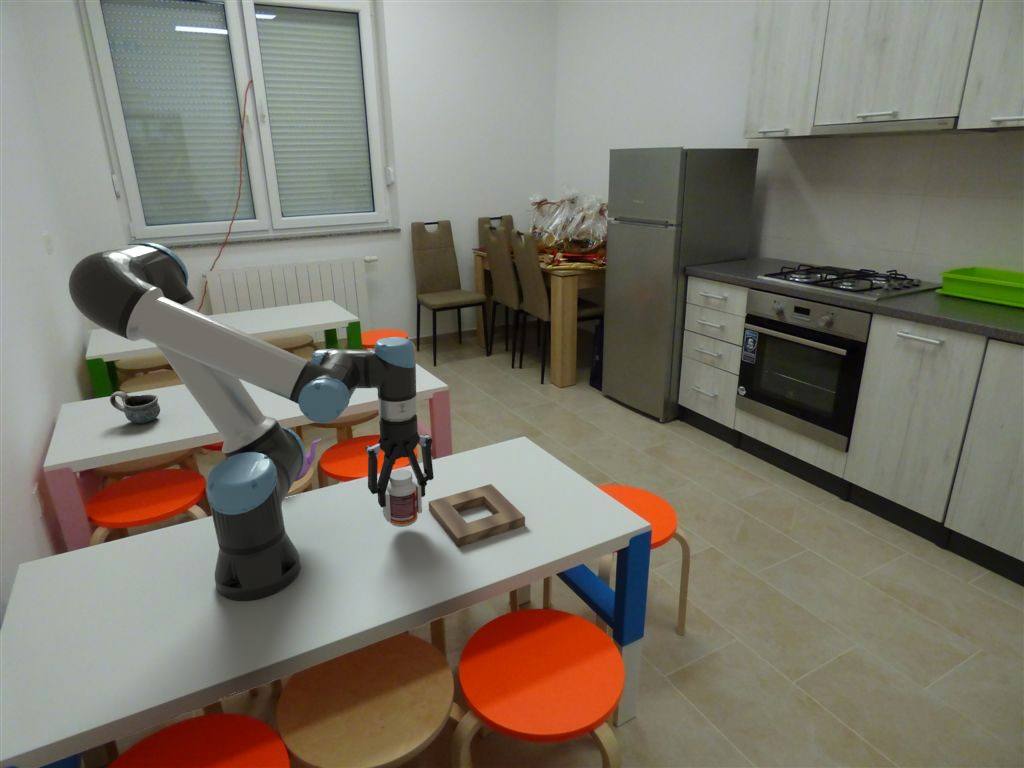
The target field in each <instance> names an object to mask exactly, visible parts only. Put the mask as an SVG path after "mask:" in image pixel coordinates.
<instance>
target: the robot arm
mask: <svg viewBox="0 0 1024 768" xmlns="http://www.w3.org/2000/svg"><path fill="white" fill-rule="evenodd" d="M68 280H69V281H68V290H69V296H70V297H71V300H72V303H74V306H75V307H76V308H77V309H78V311H79V312H80V313H81V314H82V315H83V316H84V317H86V319H88V320H89V321H90V322H92V323H94V324H96V325H97V326H99V327H100V328H103V329H104V330H106V331H108V332H110V333H112V334H114V335H117V336H120V337H122V338H125V339H126V340H129V341H131V342H136V341H140V340H145V341H148V342H151V343H152V344H155V345H156V347H157V348H158V350H159V351H160V353H161V354H162V355H163V357H164V358H165V359H166V360H167V362H168V364H169V365H170V366H171V368H172V369H173V371H174V372H175V374H176V375H177V376H178V378H179V379H180V380H181V382H182V383H183V384H184V386H185V388H187V391H189V394H191V395H192V397H193V398H194V400H195V401H196V403H197V404H198V405H199V407H200V408H201V410H202V411H203V412H204V414H205V415H206V416H207V418H208V419H209V421H210V422H211V423H212V425H213V426H214V428H215V429H216V431H217V432H218V433H219V435H220V437H222V439H223V445H222V448H221V452H222V453H223V454H224V456H225V457H226V458H227V459H223V460H220V461H219V462H217V464H216V465H214V466H213V468H211V470H210V471H209V473H208V474H207V478H206V489H207V490H206V491H207V492H206V496H207V501H208V504H209V507H210V512H211V516H212V520H213V526H214V529H215V535H216V539H217V544H218V553H217V559H216V565H215V570H214V582H215V586H216V589H217V591H218V593H219V594H220V595H222V596H223V597H224V598H227V599H230V600H234V601H253V600H259V599H262V598H266V597H269V596H271V595H273V594H276V593H278V592H280V591H282V590H283V589H285V588H286V587H288V586H289V585H290V584H291V583H293V582H294V580H295V579H296V578H297V576H298V574H299V573H300V570H301V559H300V555H299V552H298V549H297V548H296V547H295V545H294V543H293V541H292V540H291V538H290V537H289V535H288V534H287V533H288V532H287V531H286V527H285V521H284V515H283V514H284V513H283V509H282V507H283V502H284V500H285V498H286V497H287V495H288V494H289V491H290V490H291V488H292V486H293V484H294V483H295V482H296V481H295V479H297V477H298V476H299V474H300V472H301V470H302V467H303V464H304V460H305V454H306V451H305V449H306V448H305V445H304V442H303V440H302V439H301V437H300V436H299V435H298V433H296V432H295V431H293V429H290V428H288V427H287V428H286V427H285V426H283V425H280V423H279V422H278V420H277V419H276V418H275V417H271V416H267V415H264V414H263V412H262V411H261V408H259V406H258V405H257V403H256V402H255V400H254V398H253V397H252V396H251V394H250V393H249V391H248V390H247V388H245V386H244V384H243V383H242V381H244V382H246V383H248V384H251V385H253V386H256V387H258V388H260V389H263V390H264V391H265V390H266V391H268V392H270V393H273V394H275V395H276V396H279V397H282V398H284V399H287V400H289V401H291V402H294V404H298V407H299V410H300V412H301V413H302V414H303V415H304V416H305V418H307V419H308V420H309V421H311V422H314V423H319V424H326V423H331V422H333V421H335V420H336V419H338V418H339V417H340V416H341V415H342V413H343V412H344V411H345V409H347V408H348V406H349V403H350V399H351V398H352V396H353V394H354V393H355V391H356V389H377V405H378V407H377V409H378V415H379V417H378V419H379V420H378V421H379V435H380V436H379V440H378V442H377V443H376V444H374V445H372V446H370V445H366V446H365V449H364V450H365V452H366V454H367V456H368V457H367V488H368V490H369V491H370V494H372V495H375V494H377V502H378V505H379V506H380V508H382V514H383V517H384V518H385V520H386V522H387V523H388V522H389V521H391V512H390V494H389V492H388V491H387V486H388V484H389V482H390V480H389V479H390V475H391V472H393V468H394V465H395V464H396V462H397V460H399V459H401V458H407V459H408V461H409V464H410V466H411V469H412V471H413V474H414V477H415V479H416V480H413V481H414V482H415V484H416V492H417V514H422V513H423V507H422V504H423V503H422V498H425V496H426V486H427V485H428V481H433V480H434V478H435V477H434V468H433V458H432V450H431V448H432V444H433V438H431V436H429V434H427V433H424V434H423V435H420V434H419V433H418V429H419V428H418V427H419V426H418V415H417V412H418V407H417V406H418V405H417V403H418V402H417V365H416V364H417V361H416V355H415V345H414V343H413V342H412V340H410V339H408V338H406V337H402V336H391V337H383V338H382V337H381V338H379V339H378V340H377V341H375V343H374V348H372V349H371V348H370V349H351V348H349V349H345V348H343V349H341V348H340V349H339V348H334V347H333V348H327V349H326V348H325V349H317V350H315V351H313V353H312V356H311V359H310V360H309V359H305V358H303V357H301V356H298V355H297V354H294V353H292V352H290V351H287V350H285V349H283V348H280V347H278V346H277V345H274V344H272V343H269V342H267V341H265V340H263V339H260V338H257V337H255V336H254V335H251V334H249V333H246V332H244V331H242V330H239V329H238V328H235V327H234V326H231V325H229V324H227V323H224V322H221V321H219V320H217V319H214V318H212V317H210V316H208V315H206V314H203V313H201V312H199V311H196V310H194V309H195V303H196V299H195V297H194V296H193V294H192V293H191V291H190V290H189V288H188V282H189V281H188V280H189V273H188V270H187V266H186V265H185V263H184V262H183V260H182V259H181V258H180V257H179V256H178V255H177V253H175V252H174V251H173V250H171V249H169V248H168V247H166V246H164V245H160V244H158V243H153V242H133V243H128V244H126V245H122V246H119V247H115V248H112V249H107V250H105V251H104V250H103V251H99V252H95V253H91V254H89V255H88V256H85V257H84V258H82V259H81V260H79V262H78V263H77V264H75V266H74V268H73V269H72V271H71V272H70V276H69V279H68ZM418 444H420V449H421V457H422V466H423V472H422V468H421V466H420V463H419V461H418V459H417V456H416V454H415V453H416V452H415V449H416V447H417V446H418ZM380 451H382V452H383V453H384V455H383V463H382V466H381V469H380V472H379V476H378V470H379V469H378V467H379V466H378V464H379V463H378V462H379V461H378V457H379V455H380ZM378 477H379V478H378ZM294 481H295V482H294ZM389 523H390V522H389Z"/></svg>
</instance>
